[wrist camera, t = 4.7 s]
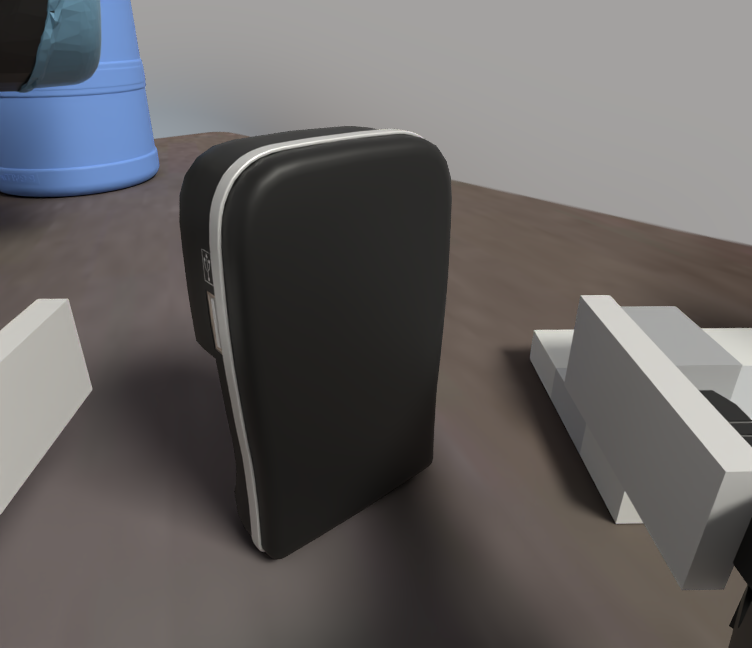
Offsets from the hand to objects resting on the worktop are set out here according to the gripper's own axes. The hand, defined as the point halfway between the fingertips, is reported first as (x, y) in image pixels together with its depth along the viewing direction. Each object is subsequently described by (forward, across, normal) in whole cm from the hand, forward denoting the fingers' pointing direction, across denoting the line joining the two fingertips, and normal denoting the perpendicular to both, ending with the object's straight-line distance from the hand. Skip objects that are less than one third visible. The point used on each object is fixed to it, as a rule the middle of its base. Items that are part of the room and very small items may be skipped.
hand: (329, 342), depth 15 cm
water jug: (+45, -27, -7) cm, 53 cm away
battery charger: (+2, 0, -6) cm, 7 cm away
